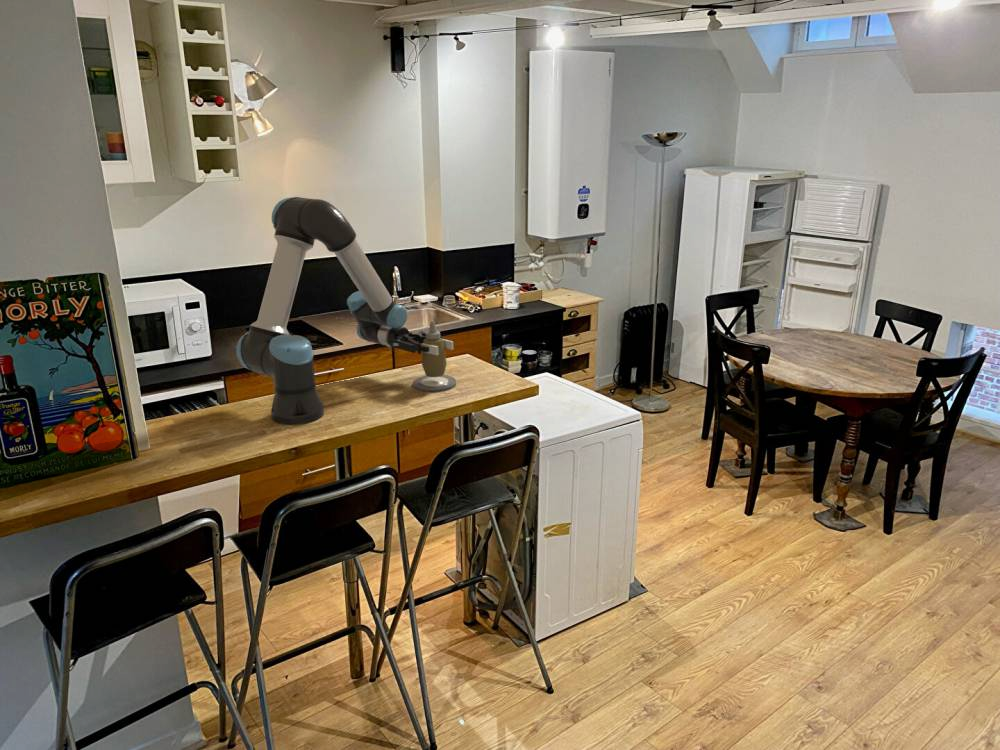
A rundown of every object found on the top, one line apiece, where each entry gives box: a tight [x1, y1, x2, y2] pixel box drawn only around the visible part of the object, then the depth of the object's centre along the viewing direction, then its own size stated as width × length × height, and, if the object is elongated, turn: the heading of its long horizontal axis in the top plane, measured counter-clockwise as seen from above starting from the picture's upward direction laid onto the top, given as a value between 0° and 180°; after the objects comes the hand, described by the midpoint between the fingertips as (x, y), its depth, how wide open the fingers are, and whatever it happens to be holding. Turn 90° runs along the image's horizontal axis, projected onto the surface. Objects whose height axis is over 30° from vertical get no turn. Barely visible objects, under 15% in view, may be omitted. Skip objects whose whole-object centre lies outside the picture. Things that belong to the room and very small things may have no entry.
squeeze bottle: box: [421, 320, 448, 377], centre depth 244 cm, size 8×8×18 cm
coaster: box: [412, 374, 457, 393], centre depth 248 cm, size 14×14×1 cm
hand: (445, 348), depth 241 cm, fingers closed on squeeze bottle, 6 cm apart
